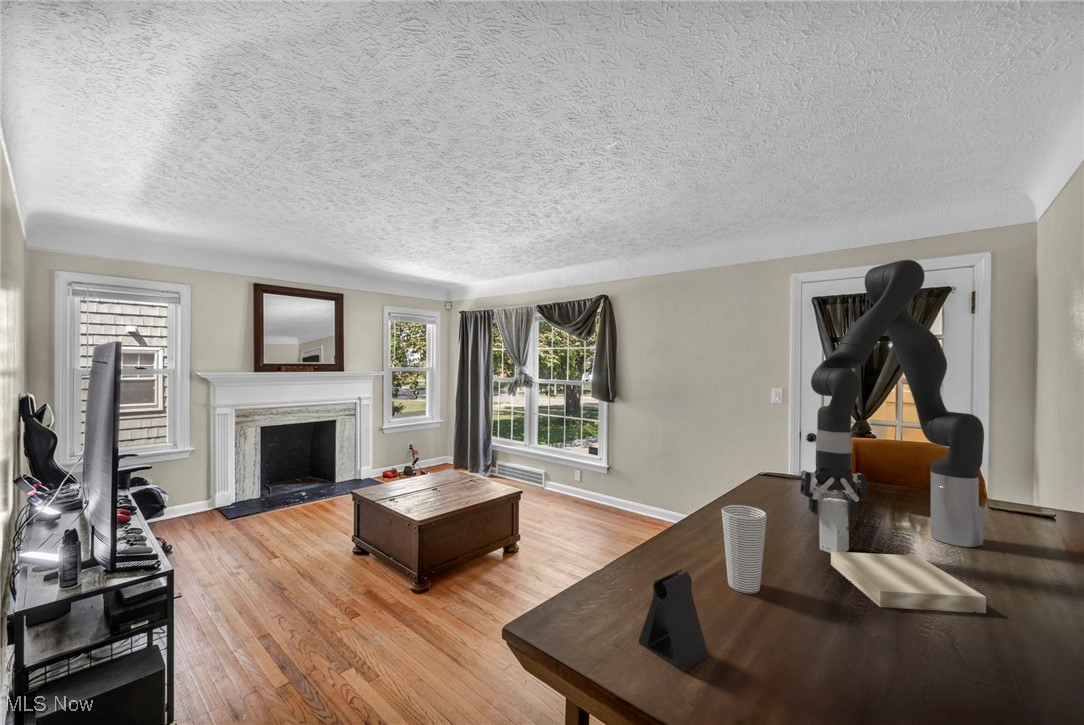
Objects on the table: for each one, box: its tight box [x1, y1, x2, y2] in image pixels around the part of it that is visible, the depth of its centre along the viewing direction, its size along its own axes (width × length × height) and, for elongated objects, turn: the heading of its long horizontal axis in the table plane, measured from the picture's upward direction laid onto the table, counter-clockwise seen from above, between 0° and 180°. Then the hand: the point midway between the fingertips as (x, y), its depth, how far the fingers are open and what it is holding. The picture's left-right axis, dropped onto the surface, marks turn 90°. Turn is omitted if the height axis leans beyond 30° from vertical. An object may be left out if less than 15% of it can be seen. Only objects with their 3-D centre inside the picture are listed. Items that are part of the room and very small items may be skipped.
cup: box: [721, 504, 767, 594], centre depth 93 cm, size 8×8×16 cm
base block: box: [830, 551, 987, 614], centre depth 93 cm, size 18×18×3 cm
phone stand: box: [638, 568, 709, 673], centre depth 72 cm, size 9×6×12 cm, turn 36°
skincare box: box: [818, 497, 850, 554], centre depth 112 cm, size 6×4×12 cm
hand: (832, 514), depth 112 cm, fingers open, 8 cm apart
